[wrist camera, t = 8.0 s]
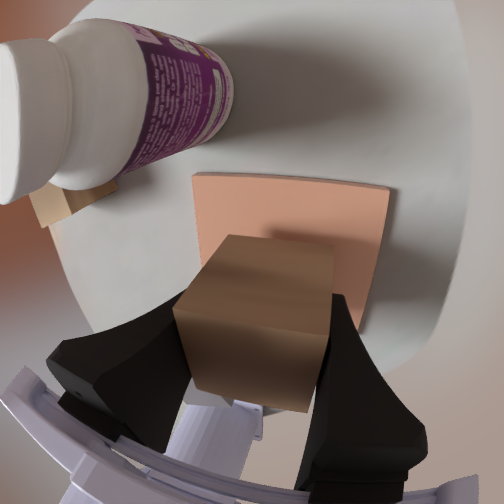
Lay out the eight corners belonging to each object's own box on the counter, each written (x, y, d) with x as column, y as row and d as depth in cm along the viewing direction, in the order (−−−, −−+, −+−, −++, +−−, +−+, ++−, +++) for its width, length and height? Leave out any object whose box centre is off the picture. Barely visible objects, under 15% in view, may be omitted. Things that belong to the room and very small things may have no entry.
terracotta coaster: (354, 333, 15) (354, 341, 15) (212, 312, 18) (209, 318, 17) (387, 187, 11) (390, 191, 10) (197, 172, 13) (191, 175, 13)
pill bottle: (240, 40, 9) (59, -35, 1) (234, 150, 12) (63, 253, 4) (140, 52, 10) (-36, 59, 2) (139, 146, 13) (-23, 220, 5)
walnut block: (320, 325, 13) (307, 413, 9) (234, 312, 14) (196, 389, 10) (334, 245, 11) (328, 335, 7) (228, 234, 12) (172, 308, 8)
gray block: (247, 364, 20) (231, 407, 16) (206, 366, 21) (187, 404, 18) (222, 326, 18) (199, 372, 15) (179, 332, 20) (155, 371, 17)
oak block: (118, 188, 15) (71, 214, 12) (83, 203, 16) (42, 228, 13) (99, 129, 13) (47, 144, 10) (65, 152, 15) (20, 169, 11)
